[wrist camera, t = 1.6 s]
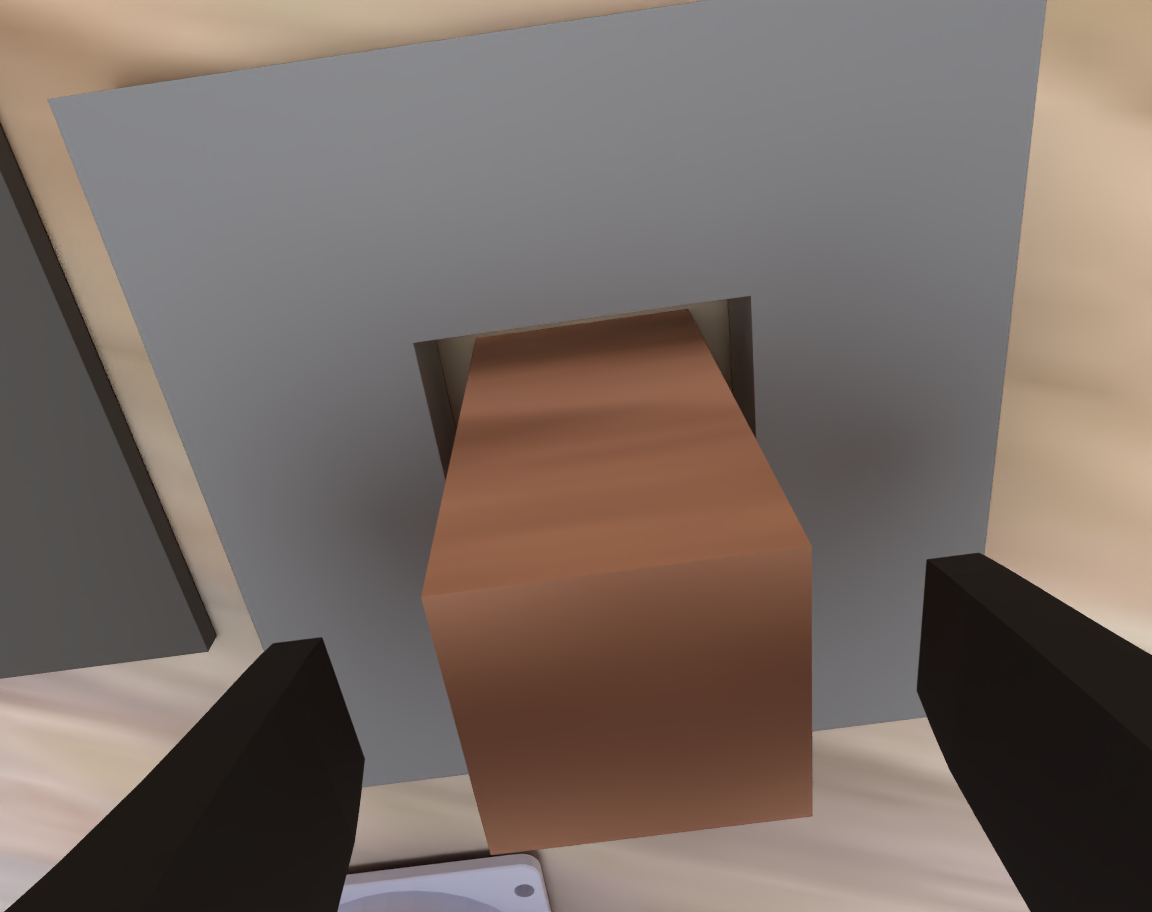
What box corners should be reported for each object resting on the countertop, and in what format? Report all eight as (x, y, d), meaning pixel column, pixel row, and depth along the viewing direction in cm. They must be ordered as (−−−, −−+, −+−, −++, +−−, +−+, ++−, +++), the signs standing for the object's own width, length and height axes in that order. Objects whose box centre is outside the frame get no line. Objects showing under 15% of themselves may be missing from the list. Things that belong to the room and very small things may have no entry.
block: (701, 492, 17) (811, 815, 10) (511, 518, 17) (490, 855, 10) (687, 309, 15) (811, 546, 8) (475, 338, 16) (421, 596, 8)
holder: (927, 649, 19) (966, 712, 18) (339, 724, 20) (319, 792, 18) (983, -41, 13) (1052, -52, 11) (112, 90, 13) (47, 98, 12)
